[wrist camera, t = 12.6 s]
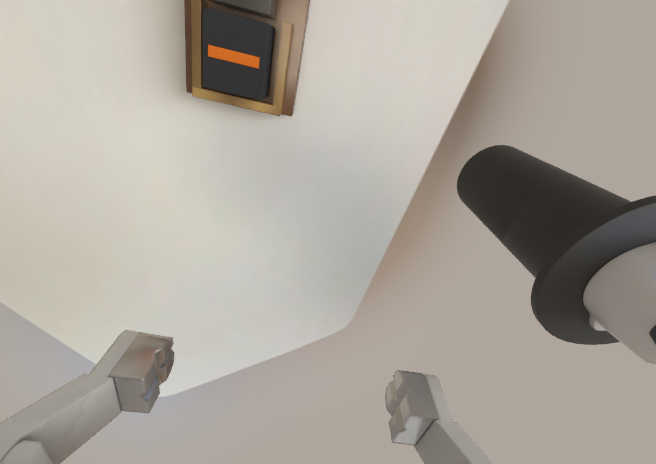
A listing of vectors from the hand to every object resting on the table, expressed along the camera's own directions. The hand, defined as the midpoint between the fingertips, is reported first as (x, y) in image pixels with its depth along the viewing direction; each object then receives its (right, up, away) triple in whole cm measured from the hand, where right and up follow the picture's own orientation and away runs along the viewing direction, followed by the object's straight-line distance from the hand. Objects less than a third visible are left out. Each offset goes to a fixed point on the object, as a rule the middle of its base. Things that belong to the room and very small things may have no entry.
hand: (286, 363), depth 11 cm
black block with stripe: (-6, +20, +15) cm, 26 cm away
